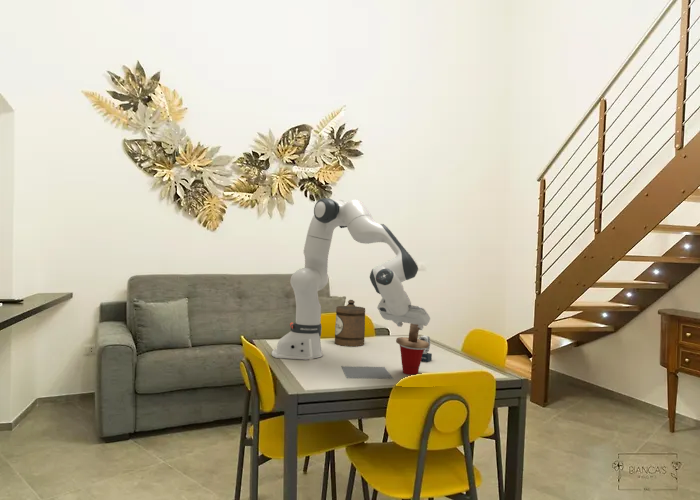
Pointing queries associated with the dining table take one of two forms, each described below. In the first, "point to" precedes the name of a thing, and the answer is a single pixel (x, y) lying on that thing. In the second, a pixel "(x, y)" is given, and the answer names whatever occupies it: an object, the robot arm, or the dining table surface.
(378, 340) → the dining table surface
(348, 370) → the rubber mat
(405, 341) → the walnut lid
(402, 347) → the plastic cup
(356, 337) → the wooden container
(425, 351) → the grey black curved piece
